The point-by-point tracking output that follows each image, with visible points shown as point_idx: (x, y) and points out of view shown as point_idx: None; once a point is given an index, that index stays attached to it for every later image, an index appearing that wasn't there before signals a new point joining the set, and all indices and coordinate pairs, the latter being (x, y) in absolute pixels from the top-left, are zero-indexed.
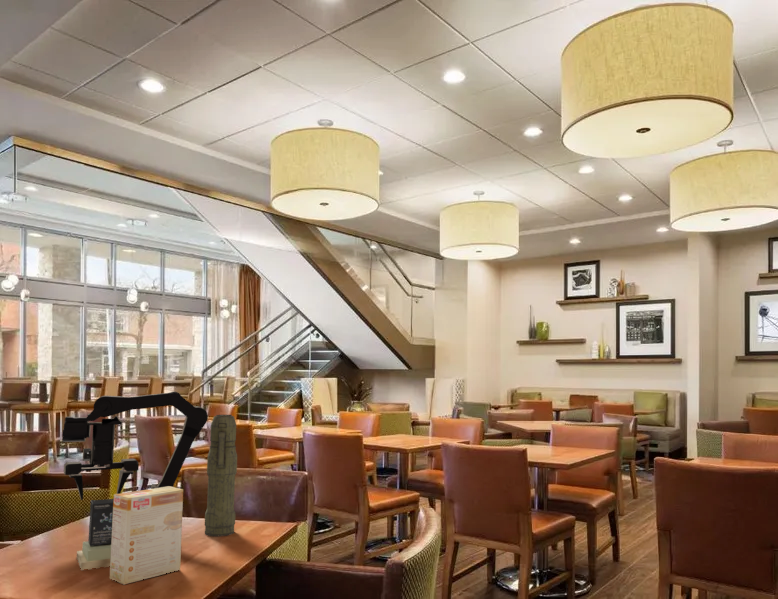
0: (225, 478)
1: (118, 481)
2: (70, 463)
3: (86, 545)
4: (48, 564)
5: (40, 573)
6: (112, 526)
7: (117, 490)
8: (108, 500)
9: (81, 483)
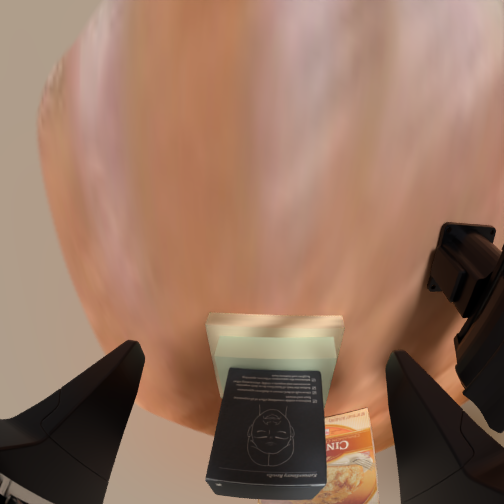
0: None
1: (441, 443)
2: None
3: (224, 385)
4: (152, 329)
5: (153, 369)
6: (258, 499)
7: (399, 400)
8: (266, 494)
9: (104, 472)
